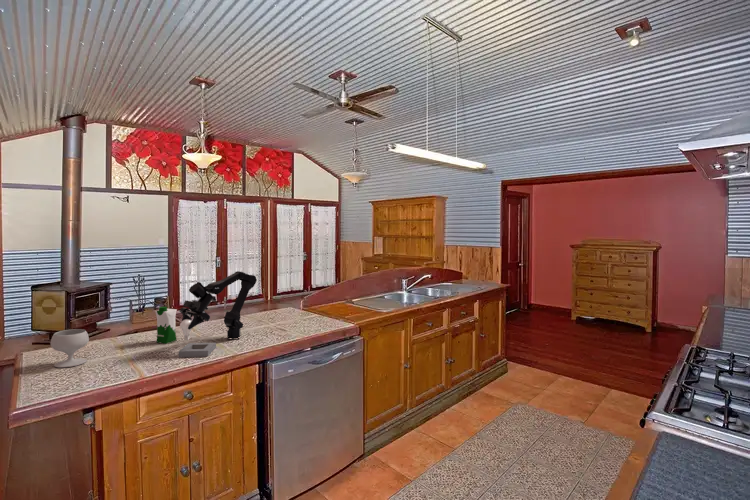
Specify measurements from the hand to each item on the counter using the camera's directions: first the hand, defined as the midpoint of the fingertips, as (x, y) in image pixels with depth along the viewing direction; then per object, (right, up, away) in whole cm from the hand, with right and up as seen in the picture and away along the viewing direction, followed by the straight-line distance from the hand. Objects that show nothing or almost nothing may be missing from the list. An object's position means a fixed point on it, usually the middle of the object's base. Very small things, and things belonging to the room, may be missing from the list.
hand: (184, 328), depth 197 cm
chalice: (-44, -13, -18) cm, 50 cm away
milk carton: (-20, -12, +19) cm, 30 cm away
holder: (+7, -13, 0) cm, 14 cm away
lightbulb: (0, -7, +2) cm, 7 cm away
